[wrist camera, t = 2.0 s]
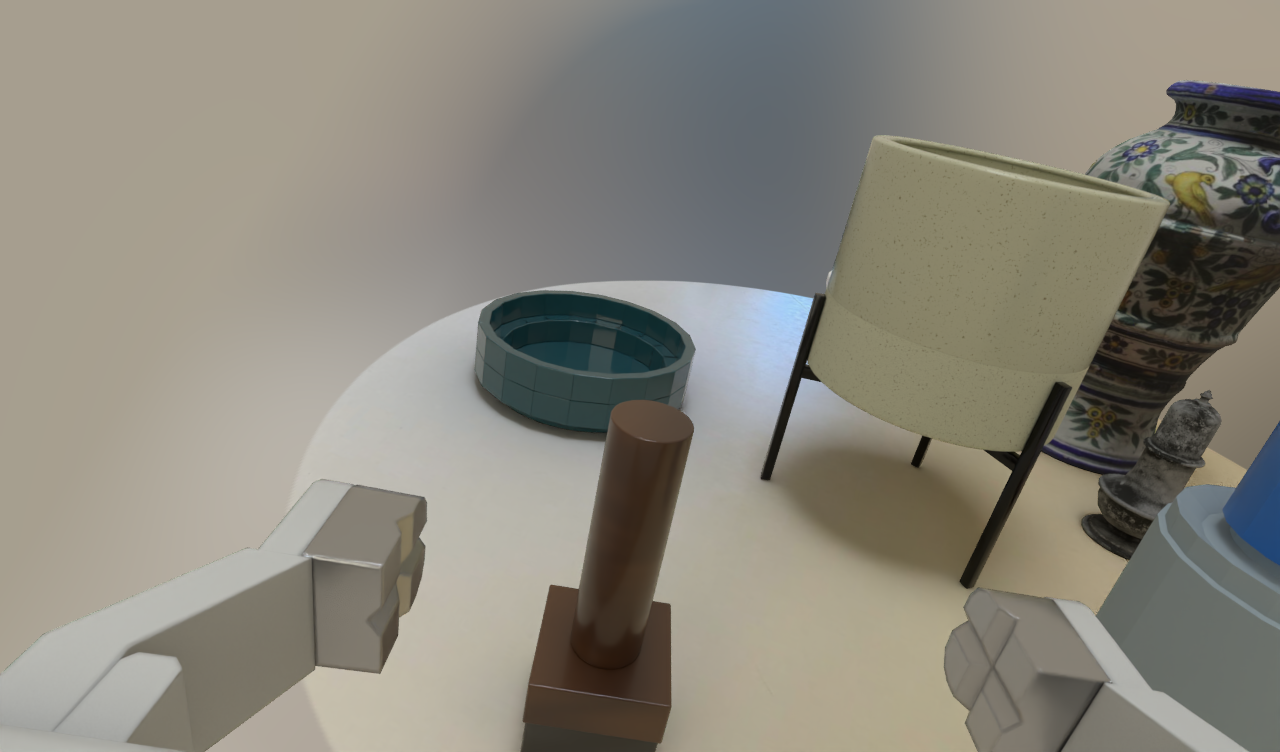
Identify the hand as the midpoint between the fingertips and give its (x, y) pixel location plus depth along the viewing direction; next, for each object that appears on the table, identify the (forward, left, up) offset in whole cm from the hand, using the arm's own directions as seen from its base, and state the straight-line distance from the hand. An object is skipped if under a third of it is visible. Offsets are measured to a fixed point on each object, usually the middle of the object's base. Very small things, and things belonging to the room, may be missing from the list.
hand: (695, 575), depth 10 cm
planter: (+12, +35, -19) cm, 41 cm away
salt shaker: (+30, +39, -19) cm, 52 cm away
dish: (-11, +41, -18) cm, 46 cm away
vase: (+32, +55, -19) cm, 66 cm away
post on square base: (-2, +12, -18) cm, 22 cm away
